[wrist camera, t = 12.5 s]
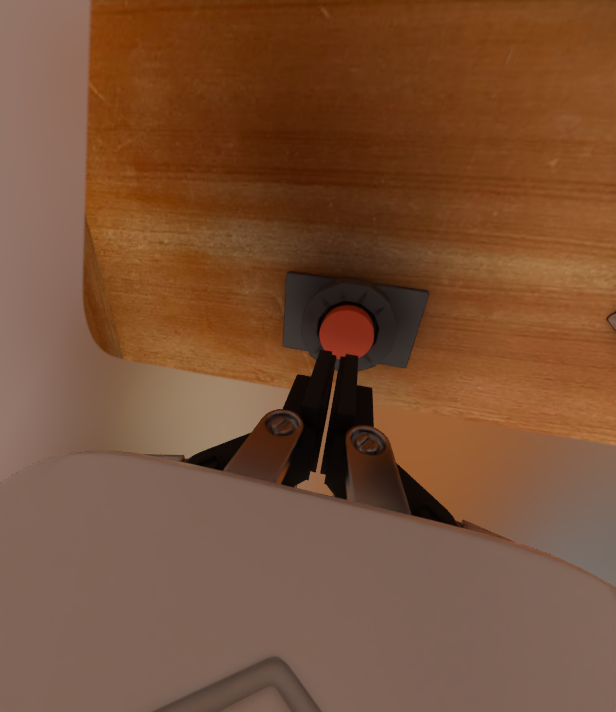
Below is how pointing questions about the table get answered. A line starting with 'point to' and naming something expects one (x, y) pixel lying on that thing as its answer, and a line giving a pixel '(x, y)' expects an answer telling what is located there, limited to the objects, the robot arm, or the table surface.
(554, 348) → the table surface
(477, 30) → the table surface
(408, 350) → the button block
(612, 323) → the ink box
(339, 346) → the button
